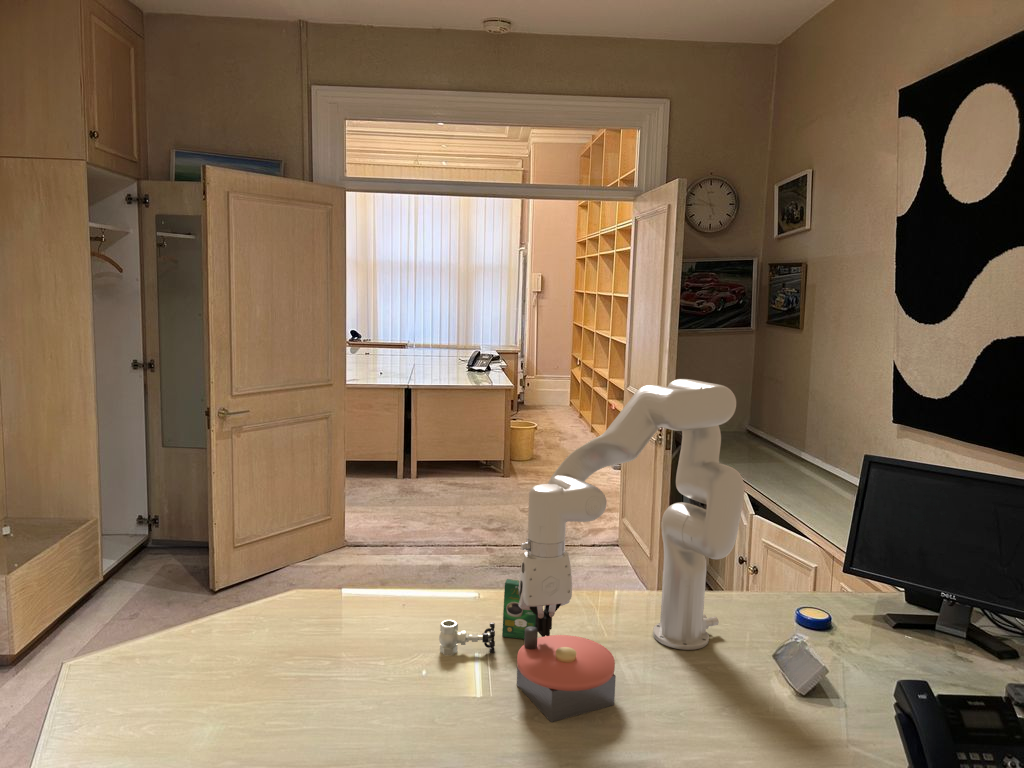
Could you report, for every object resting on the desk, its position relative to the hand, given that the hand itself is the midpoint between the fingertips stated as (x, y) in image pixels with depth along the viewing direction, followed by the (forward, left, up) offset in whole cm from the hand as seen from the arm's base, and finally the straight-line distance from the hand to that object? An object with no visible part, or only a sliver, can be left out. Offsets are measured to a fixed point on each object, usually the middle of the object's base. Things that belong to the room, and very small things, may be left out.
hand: (543, 633), depth 149 cm
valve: (+10, -16, -10) cm, 21 cm away
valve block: (-1, +7, -10) cm, 12 cm away
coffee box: (-4, -18, -10) cm, 21 cm away
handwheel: (-1, +7, -3) cm, 8 cm away
